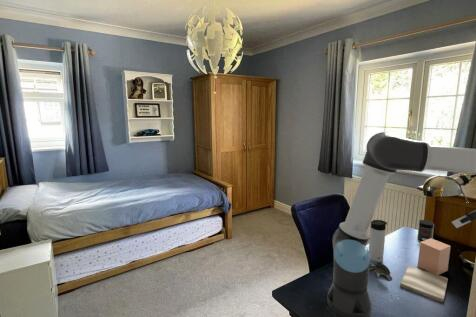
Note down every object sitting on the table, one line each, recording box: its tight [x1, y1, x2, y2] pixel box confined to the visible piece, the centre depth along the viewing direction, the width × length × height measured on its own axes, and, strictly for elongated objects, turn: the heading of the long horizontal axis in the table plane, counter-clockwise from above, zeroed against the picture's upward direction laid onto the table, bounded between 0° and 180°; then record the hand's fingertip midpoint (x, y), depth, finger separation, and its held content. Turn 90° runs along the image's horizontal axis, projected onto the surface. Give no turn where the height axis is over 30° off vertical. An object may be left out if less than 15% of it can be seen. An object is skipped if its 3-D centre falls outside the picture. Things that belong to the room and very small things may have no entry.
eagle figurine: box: [369, 260, 393, 281], centre depth 114 cm, size 8×7×9 cm
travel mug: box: [368, 219, 388, 264], centre depth 124 cm, size 6×7×20 cm
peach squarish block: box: [417, 238, 451, 276], centre depth 117 cm, size 8×8×12 cm
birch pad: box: [399, 265, 449, 303], centre depth 108 cm, size 16×14×2 cm
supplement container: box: [417, 219, 435, 242], centre depth 142 cm, size 7×7×10 cm
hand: (462, 220), depth 106 cm, fingers open, 13 cm apart
